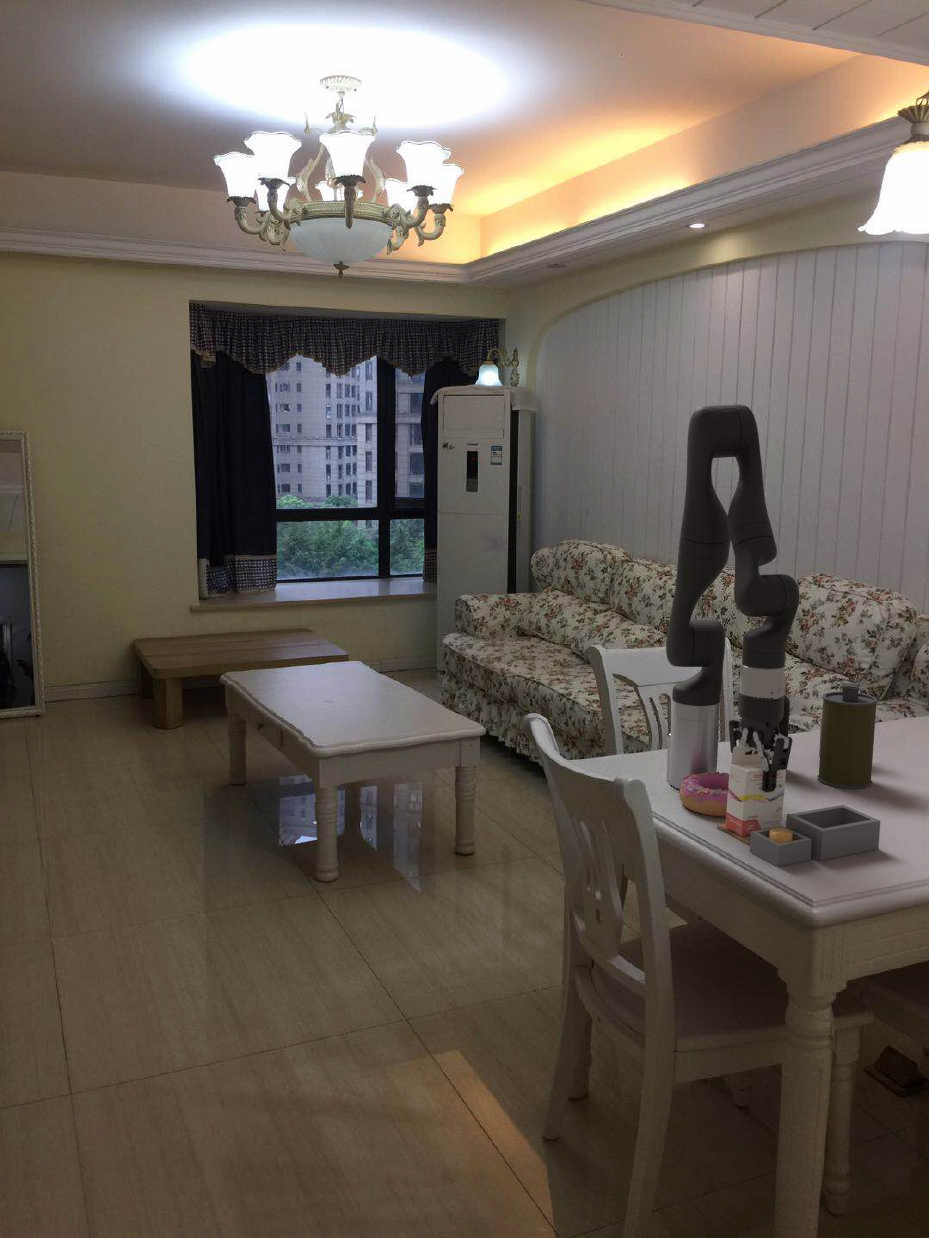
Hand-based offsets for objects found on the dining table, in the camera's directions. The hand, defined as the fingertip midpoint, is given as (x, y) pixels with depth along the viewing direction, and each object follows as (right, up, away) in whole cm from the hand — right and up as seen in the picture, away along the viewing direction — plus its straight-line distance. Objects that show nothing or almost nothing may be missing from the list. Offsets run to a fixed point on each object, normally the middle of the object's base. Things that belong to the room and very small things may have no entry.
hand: (756, 785), depth 179 cm
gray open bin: (+11, -9, -4) cm, 15 cm away
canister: (+26, -4, +30) cm, 40 cm away
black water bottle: (+13, -3, +37) cm, 40 cm away
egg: (+1, -10, -9) cm, 13 cm away
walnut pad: (0, -8, +1) cm, 9 cm away
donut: (-3, -7, +15) cm, 17 cm away
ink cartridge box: (0, -8, +1) cm, 8 cm away
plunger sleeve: (+1, -10, -9) cm, 14 cm away
